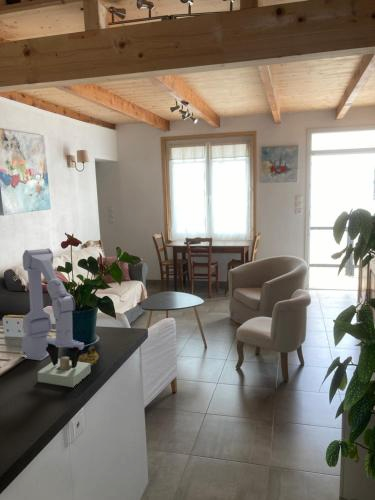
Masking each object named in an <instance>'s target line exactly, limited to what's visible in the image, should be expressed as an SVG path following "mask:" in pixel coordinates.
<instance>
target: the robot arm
mask: <svg viewBox="0 0 375 500" xmlns="http://www.w3.org/2000/svg"><path fill="white" fill-rule="evenodd" d="M53 263H54V253H53V251H52V250H51V248H50V247H49V248H43V249H42V248H40V249H31V250H30V249H29V250H28V249H26V250H24V252H23V253H22V267H23V271H25V272H27V279H28V292H29V293H28V295H29V310H30V311H29V312H28V313H26V314H25V315H24V316H23V321H22V322H23V323H22V331H23V333H24V334H23V336H22V338H21V356H22V355H26V356H27V357H26V358H25V359H28V360H34V361H35V360H36V361H43V360H44V359H45V358H47V357H49V358H50V360H51V362H52V363H53V365H54V366H55V365H56V364H58V359H59V349H60V348H70V350H69V355H70V359H71V360H70V361H72V368H75V367H76V366H77V362H78V358H79V355H81V354H82V351H83V350H84V348H85V343H84V342H81V341H78V340H75V339H73V338H74V337H73V336H74V335H73V312H74V311H75V309H76V301H75V299H74V296H73V295H72V294H70V292H68V291H67V289H66V288H65V285H64V283H63V281H62V280H61V279H58V278H57V275H56V272H55V270H54V266H53ZM42 276H43V277H44V279H45V281H46V283H47V284H46V290H47V292H48V294H49V297H50V299H51V301H52V303H51V309H52V312H53V318H54V319H55V320H54V321H55V338H50V337H49V338H48V335H49V334H50V332H51V331H52V328H53V323H52V319H51V315H50V313H49V312H47V311H45V310H44V298H43V297H44V296H43V294H44V293H43V281H42Z"/></svg>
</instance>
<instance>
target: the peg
mask: <svg viewBox="0 0 375 500" xmlns="http://www.w3.org/2000/svg"><path fill="white" fill-rule="evenodd" d="M59 359H60V370H61V371H68V370H70V367H69V360H70V356H62V357H60V358H59Z"/></svg>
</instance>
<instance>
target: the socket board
mask: <svg viewBox="0 0 375 500" xmlns="http://www.w3.org/2000/svg"><path fill="white" fill-rule="evenodd" d="M69 367H70V370H68V371H61V370H60V358H58V364H56V365H55V366H54V365H53V363H52V361H51V362H50V363H49V364H47V365H46V366H44V367H43V368H41V369H40V370H39V371H37V382H39V383H44V384H45V383H46V384H51V385H57V386H64V387H69V388H75V387H76V386H77V385H78V384H80V382H82V379H83V380H84V379H85V378H86V377H87V376H88V375H89V374H90V373H92V372H91V368H92V366H91V363H85V362H77V366H76V367H75V368H72V360H70V359H69ZM76 384H77V385H76ZM75 385H76V386H75ZM74 386H75V387H74Z"/></svg>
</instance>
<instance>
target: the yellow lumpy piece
mask: <svg viewBox="0 0 375 500" xmlns="http://www.w3.org/2000/svg"><path fill="white" fill-rule="evenodd" d="M99 360H100V355H99V354H98V352H96V348H95V346H94V345H91V346H89V348H88V351H87V352H86V353H81V354H80V355H79V358H78V362H85V363H91V367H92V366H94V365H95V364H97V363H98V362H99Z"/></svg>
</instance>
